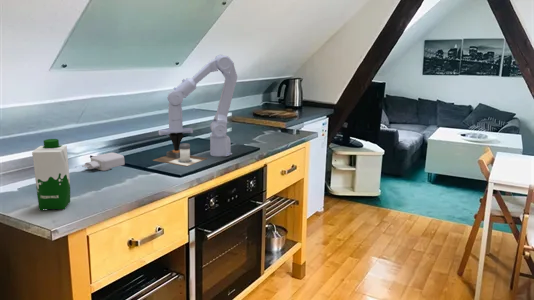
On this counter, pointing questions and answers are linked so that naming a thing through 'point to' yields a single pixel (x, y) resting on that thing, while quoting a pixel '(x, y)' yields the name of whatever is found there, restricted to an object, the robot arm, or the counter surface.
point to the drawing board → (178, 159)
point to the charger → (105, 161)
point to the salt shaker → (184, 152)
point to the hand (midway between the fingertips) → (176, 150)
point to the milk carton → (52, 175)
